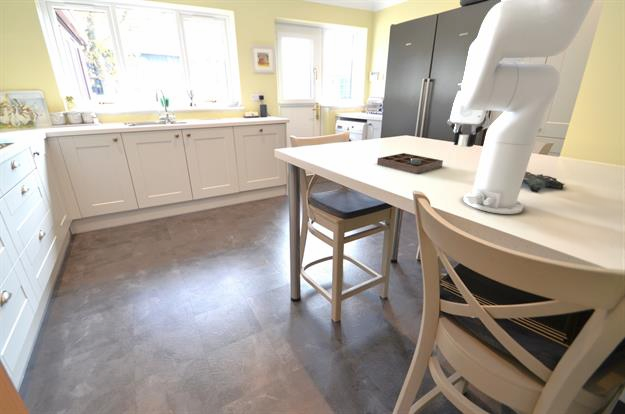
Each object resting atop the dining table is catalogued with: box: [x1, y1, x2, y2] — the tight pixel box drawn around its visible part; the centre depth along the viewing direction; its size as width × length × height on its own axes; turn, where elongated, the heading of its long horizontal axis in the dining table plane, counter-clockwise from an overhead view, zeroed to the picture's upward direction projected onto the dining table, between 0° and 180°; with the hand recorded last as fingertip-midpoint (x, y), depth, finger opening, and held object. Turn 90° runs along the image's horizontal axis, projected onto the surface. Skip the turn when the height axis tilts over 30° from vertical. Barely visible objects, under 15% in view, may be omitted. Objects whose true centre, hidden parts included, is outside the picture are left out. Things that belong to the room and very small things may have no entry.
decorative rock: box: [522, 171, 565, 193], centre depth 87 cm, size 19×6×15 cm
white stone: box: [456, 133, 470, 148], centre depth 94 cm, size 4×4×4 cm
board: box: [376, 152, 444, 175], centre depth 107 cm, size 17×17×2 cm
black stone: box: [410, 158, 421, 166], centre depth 99 cm, size 4×4×4 cm
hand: (463, 145), depth 95 cm, fingers closed on white stone, 3 cm apart
